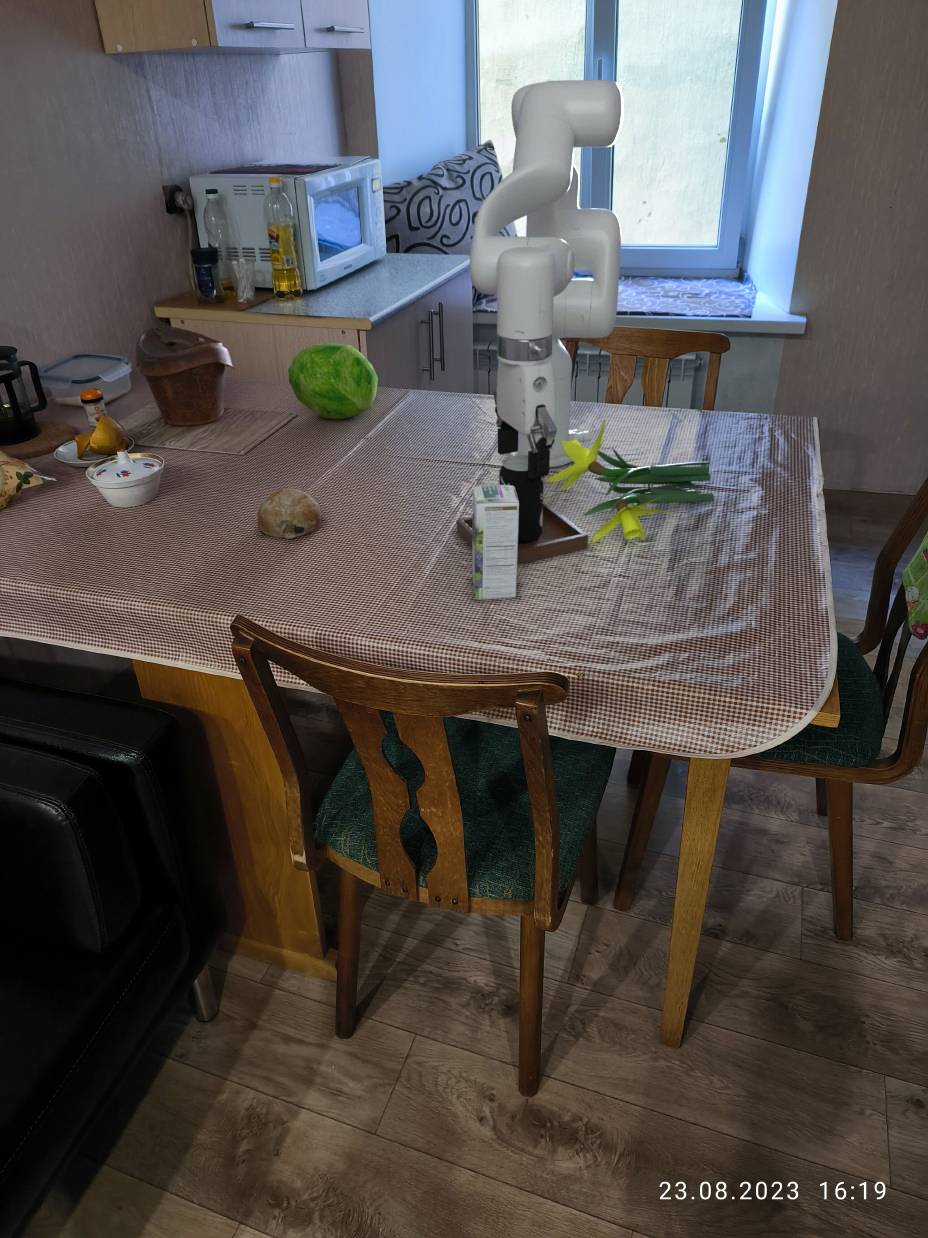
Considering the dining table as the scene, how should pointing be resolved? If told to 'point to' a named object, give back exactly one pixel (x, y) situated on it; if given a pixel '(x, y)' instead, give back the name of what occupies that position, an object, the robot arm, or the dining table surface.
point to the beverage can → (525, 496)
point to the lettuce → (333, 380)
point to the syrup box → (495, 541)
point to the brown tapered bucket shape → (183, 374)
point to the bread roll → (289, 514)
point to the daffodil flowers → (633, 475)
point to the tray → (541, 537)
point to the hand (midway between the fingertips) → (522, 463)
